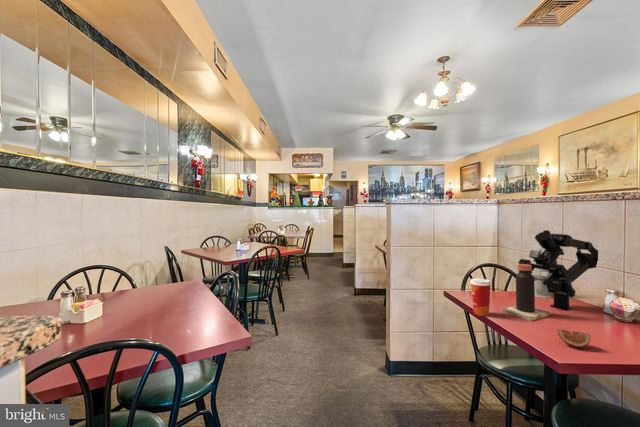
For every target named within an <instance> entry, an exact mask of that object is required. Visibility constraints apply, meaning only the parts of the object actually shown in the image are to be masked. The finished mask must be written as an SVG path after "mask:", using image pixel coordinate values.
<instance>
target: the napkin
mask: <svg viewBox="0 0 640 427" xmlns="http://www.w3.org/2000/svg"><path fill="white" fill-rule="evenodd" d="M501 313H504V314H506V315H509V316H513V317H517V318H520V319H523V320H525V321H529V322H530V321H531V322H532V321H536V320H539V319H543V318H546V317H549V316H550V315H551V311H548V310H545V309H540V308H536V307H535V311H534V312H523V311H519V310H517V309H516V304H515V305H511V306H508V307H505V308H501Z"/></svg>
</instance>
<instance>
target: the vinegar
mask: <svg viewBox="0 0 640 427" xmlns="http://www.w3.org/2000/svg"><path fill="white" fill-rule="evenodd" d="M517 271H518V273H517V274H515V305H516V309H517V310H519V311H523V312H534V311H535V308H536V302H535V301H536V300H535V299H536V296H535V286H534V276H535V275H533V274H532V273H531V271H532V266H531V265H528V264H519V263H518V264H517ZM532 272H533V271H532Z"/></svg>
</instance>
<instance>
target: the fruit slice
mask: <svg viewBox="0 0 640 427" xmlns="http://www.w3.org/2000/svg"><path fill="white" fill-rule="evenodd" d="M556 329H557V328H556ZM557 335H558V336H559V337H558V338H559V339H561V340H562V341H563V342H564V343H565V344H567V345H569V346H571V347H573V348H577V349H581V348H585V347H586V346H588V345H589V344H590V342H591V334H590V333H586V332H579V331H569V330H565V329H559V328H558V329H557Z"/></svg>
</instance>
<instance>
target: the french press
mask: <svg viewBox="0 0 640 427" xmlns="http://www.w3.org/2000/svg"><path fill="white" fill-rule="evenodd" d="M537 251H541V252H543V248H538V249H537ZM533 271H534V272H538V273H539V275H533V276H534V286H535V298H536V297H537V298H544V299H549V298H553V295H552V294H551V293H549V292H548V289H547V285H543V282H544V280H545V278H546V277H547V275H548V273H549V271H546V270H542V269H537V268H534V270H533ZM533 271H532V272H533ZM541 272H543V273H546V275H545V276H544V275H542V274H541Z"/></svg>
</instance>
